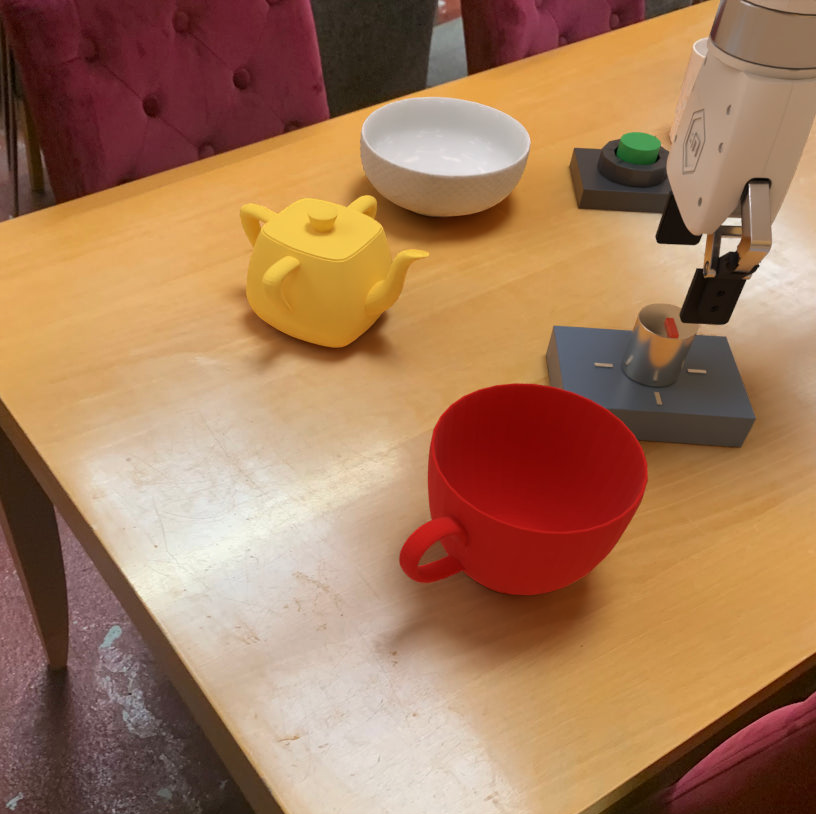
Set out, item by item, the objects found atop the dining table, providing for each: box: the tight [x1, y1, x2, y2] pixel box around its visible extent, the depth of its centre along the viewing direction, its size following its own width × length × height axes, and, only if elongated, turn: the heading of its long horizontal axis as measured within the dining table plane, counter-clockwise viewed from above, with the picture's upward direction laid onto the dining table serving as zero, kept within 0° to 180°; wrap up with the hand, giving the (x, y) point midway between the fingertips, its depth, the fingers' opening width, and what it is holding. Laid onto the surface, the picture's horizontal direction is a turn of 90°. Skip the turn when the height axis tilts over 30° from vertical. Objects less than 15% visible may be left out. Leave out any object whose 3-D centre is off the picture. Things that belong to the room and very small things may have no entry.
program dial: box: [621, 303, 700, 387], centre depth 68 cm, size 4×4×5 cm
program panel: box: [545, 325, 757, 448], centre depth 71 cm, size 14×10×3 cm
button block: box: [568, 138, 672, 214], centre depth 93 cm, size 11×9×4 cm
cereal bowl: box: [359, 96, 532, 218], centre depth 90 cm, size 17×17×7 cm
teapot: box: [239, 194, 430, 349], centre depth 75 cm, size 14×13×10 cm
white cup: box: [668, 36, 709, 144], centre depth 98 cm, size 8×8×10 cm
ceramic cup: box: [398, 382, 649, 596], centre depth 56 cm, size 13×17×10 cm
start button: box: [616, 131, 662, 165], centre depth 91 cm, size 4×4×2 cm
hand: (688, 280), depth 64 cm, fingers open, 9 cm apart
